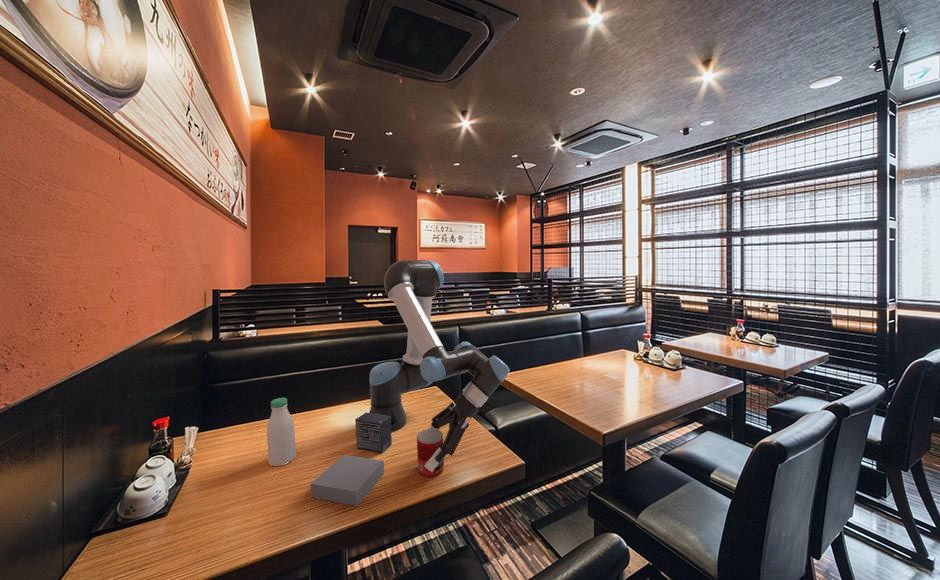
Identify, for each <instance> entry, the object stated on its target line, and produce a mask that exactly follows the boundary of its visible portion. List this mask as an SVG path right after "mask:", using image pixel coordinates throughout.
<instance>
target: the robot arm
mask: <svg viewBox="0 0 940 580" xmlns="http://www.w3.org/2000/svg"><path fill="white" fill-rule="evenodd" d="M444 275H445V274H444V271H443V268H442V267H441V265H440V264H439V263H438V262H436V261H434V260H429V259H409V260H408V259H401V260H398V261H395V262H393V263H392V264H391V265H390V266H389V267H388V268H387V270H386V272H385V275H384V278H383V284H384V285H383V287H384V291H385V294H386V296H387V297H388V299H389V300H390V301H391V302H394V306H395V307H396V309H397V311H398V313H399V315H400V316H401V319H402V320H403V323H404V325H405V326H406V328H407V340H406V341H407V342H406V343H407V344H406V353H405V354H404V355H402V360H401V361H402V363H400V362H398V361H387V362H386V361H385V362H382V363H378V364H377V365H375V366H374V367H372V368H371V370H370V372H369V380H368V381H369V393H370V409H369V412H368V413H373V414H380V415H388V416H391V433H392V432H395V431H398V430H400V429H401V428H403V427H405V425H406V424H407V413H406V411H405V408H404V406H403V404H402V403H403V402H402V395H403V394H406V393H410V392H412V391H416V390H419V389H420V390H421V389H424V388H425V387H428V386H430V385H431V384H432V383H433V382H438V381H439V382H440V381H442V380H444V379H447V378H450V377H454V376H457V375H461V374H465V373H469V374H470V375H471V376H473V378H472V379H471V381H469V383H467V385H466V386H465V387H464V388H463V389H462V392H461V393H459V395H458V396H457V397H456V398H455V399H454V400H453V402H450V403H449V404H448V406H447V407H445V408H444V409H443V410H441V411H440V412H439V413H437V414H436V415H435V416H433V417H432V418H431V425H430V426H429V427H428V428H427V429H436V430H439V431H440V428H442V427H444V426H446V425H448V428H449V429H448V431H447V433H446V436H445V438H444V440H443V446H440V447H439V449H438V450H437V451H436V452H435V453H434V455H433V456H432V457H431V458H430V459H429V461H428V462H427V463H426V464H425V467H426V468H427V469H428V470H430V471H431V472H432V471H433V470H434V469H435V468H436V467H437V465H438V464H439V463H440V462H441V461H442V459H443V458H444V459H445V457H446V456H447V455H450V456H451V457H452V456H453V455H454V453H455V451H456V449H457V447H458V446H459V443H460V442H461V440H462V437H464V436H463V435H464V434H465V431H467V429H468V428H469V426H470V423H469V422H468V421H467V418H470V419H472V418H474V416H475V415H476V414H477V413H478V412H479V408H481V407H483V405H484V404H485V403H487V401H488V399H489V398H490V397H491V395H493V393H494V392H495V391H496V390H497V388H498V387H499V386H500V385H501V384H502V383H504V381H505V379H506V377H507V376H508V375H509V373H510V368H509V366H508V365H507V364H506V363H505V362H504V361H503V360H501V359H500V358H499V357H497V356H496V355H492V356H491V357H487V356H486V355H485V354H484V353H483V352H482V351H480V349H478V348H477V347H476V346H475V345H473V344H471V343H470V342H469V341H462V342H460V344H457V345H456V346H455V347H454V349H453V350H452V351H447V350H446V348H445V347H444V345H443V343H442V342H441V339H440V338H439V336H438V334H437V332H436V331H435V329H434V327H433V325H432V323H431V315H432V305H433V304H432V303H433V299H434V298H435V297H436V296H437V290H439V289H441V288H442V286H443V285H444V281H445V277H444Z"/></svg>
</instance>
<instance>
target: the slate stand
mask: <svg viewBox="0 0 940 580" xmlns="http://www.w3.org/2000/svg"><path fill="white" fill-rule="evenodd" d="M384 475H385V461H384V460H381V459H373V458H367V457H360V456H352V455H345V454H343V455H341V456H340V457H339V458H338V459H337V460H335V461H334V462H333V463H332V464H331V465H330V466H329V467H328V468H327V469H325V471H323V472H322V473H321V474H320V475H319V476H318V477H316V478H315V479H314V480H313V481H312V482H311V483H310V495H311V497H314V498H313V499H315V498H319V499H318V500H320V499H324V500H323V501H326V500H329V501H328V502H331V501H333V502H332V503H336V504H337V503H338V504H343V505H348V506H352V505H354V506H353V507H358V506H359V505H358V504H359V503H360V504H361V502H362V501H363V500H364V499H365V498H366V496H367V495H368V494H369V492H371V491H372V489H373V488H374V487H375V486H376V485H377V483H378V482H379V480H381V478H382V477H383V476H384Z"/></svg>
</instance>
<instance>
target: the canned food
mask: <svg viewBox="0 0 940 580" xmlns="http://www.w3.org/2000/svg"><path fill="white" fill-rule="evenodd" d="M443 443H444V433H443V432H442V431H441V430H440V429H439V430H438V429H437V430H436V429H428V428H427V429H424V430H421V431H419V432H418V433H417V435H416V450H417V451H416V453H417V469H418V473H419V474H420V475H421V476H424V477H427V478H432V477H433V478H434V477H436V476H439V475H441V474H442V473H443V472H444V468H445V457H444V458H443V459H442V461H441V462H440V463H439V464H438V465H437V467H436V468H435V469H434V470H433V471H432V472H431V471H430V470H428V469H427V468H426V467H425V464H426V463H427V462H428V461H429V459H430V458H431V457H432V456H433V455H434V453H435V452H436V451H437V450H438V449H439V447H440V446H443Z"/></svg>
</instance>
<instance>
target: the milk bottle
mask: <svg viewBox="0 0 940 580" xmlns="http://www.w3.org/2000/svg"><path fill="white" fill-rule="evenodd" d="M287 406H288V398H287V397H279V398H275V399H272V400H271V401H270V408H271V414H270V417H269V419H268V422H267V424H266V426H267V427H266V438H267V439H266V441H267V453H268V454H267V455H268V463H269V464H272V465H282V464H285V463H287V462H290V461H291V460H293V459H294V458H295V459H296V457H297V448H296V447H297V445H296V434H295V433H296V432H295V422H294V418H293V417H292V415H291V414H290V411H289V410H288V407H287ZM295 456H296V457H295ZM295 459H294V460H295ZM294 460H293V461H294ZM291 462H292V461H291ZM291 462H290V463H291ZM272 465H271V466H272ZM285 465H286V464H285ZM282 466H283V465H282Z"/></svg>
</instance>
